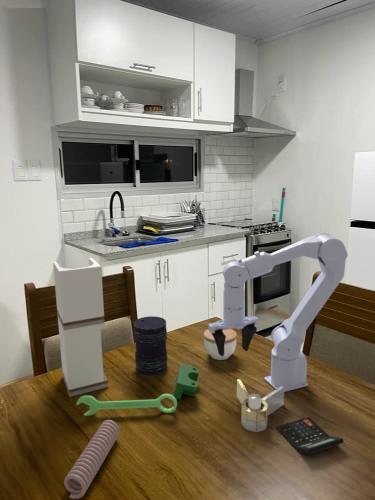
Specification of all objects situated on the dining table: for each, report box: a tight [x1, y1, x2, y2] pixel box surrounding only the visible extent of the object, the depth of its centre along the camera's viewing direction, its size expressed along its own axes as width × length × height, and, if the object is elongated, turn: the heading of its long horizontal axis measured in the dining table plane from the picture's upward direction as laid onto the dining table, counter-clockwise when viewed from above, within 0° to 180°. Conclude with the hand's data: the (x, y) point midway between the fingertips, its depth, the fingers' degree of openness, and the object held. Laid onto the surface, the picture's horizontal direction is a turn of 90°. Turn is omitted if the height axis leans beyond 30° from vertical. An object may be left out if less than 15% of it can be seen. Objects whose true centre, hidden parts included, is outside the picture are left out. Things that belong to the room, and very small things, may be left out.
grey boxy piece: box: [52, 257, 109, 398], centre depth 107 cm, size 11×11×35 cm
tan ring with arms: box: [236, 378, 285, 433], centre depth 97 cm, size 14×14×5 cm
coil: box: [63, 419, 120, 500], centre depth 80 cm, size 5×5×18 cm
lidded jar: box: [203, 328, 238, 361], centre depth 125 cm, size 11×11×9 cm
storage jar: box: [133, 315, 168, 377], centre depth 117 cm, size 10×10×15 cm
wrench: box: [76, 393, 178, 417], centre depth 96 cm, size 25×2×5 cm, turn 93°
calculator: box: [275, 416, 345, 455], centre depth 86 cm, size 9×12×3 cm
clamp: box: [172, 362, 200, 401], centre depth 106 cm, size 11×6×8 cm, turn 171°
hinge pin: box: [248, 393, 262, 411], centre depth 91 cm, size 3×3×7 cm
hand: (233, 352), depth 108 cm, fingers open, 7 cm apart
